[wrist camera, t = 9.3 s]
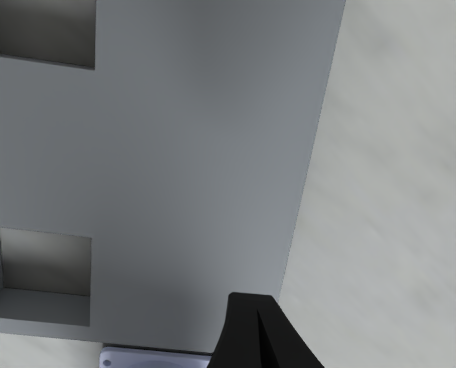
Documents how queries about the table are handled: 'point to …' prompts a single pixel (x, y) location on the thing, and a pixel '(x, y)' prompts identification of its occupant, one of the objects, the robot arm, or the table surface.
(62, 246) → the table surface
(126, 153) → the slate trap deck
